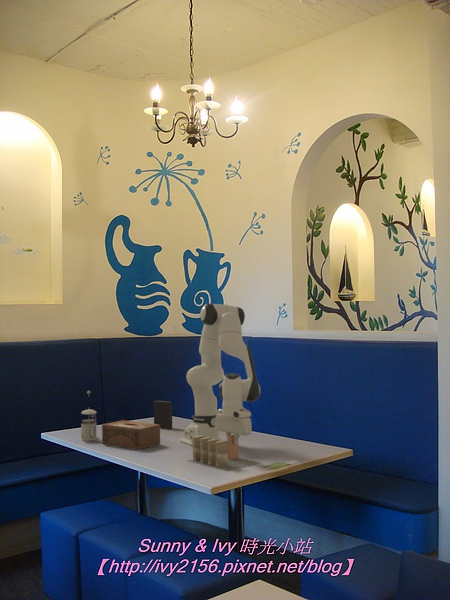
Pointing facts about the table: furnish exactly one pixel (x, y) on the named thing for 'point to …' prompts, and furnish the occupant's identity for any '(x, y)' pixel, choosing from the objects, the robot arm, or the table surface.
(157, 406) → the black rectangular slab
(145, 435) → the tissue box cover
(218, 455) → the domino
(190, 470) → the table surface
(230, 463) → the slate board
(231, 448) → the end domino
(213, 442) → the domino
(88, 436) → the french press
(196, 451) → the domino
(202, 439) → the domino
